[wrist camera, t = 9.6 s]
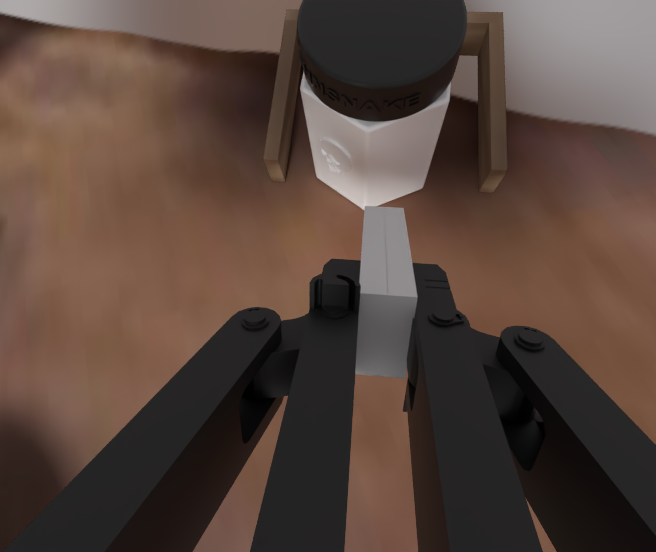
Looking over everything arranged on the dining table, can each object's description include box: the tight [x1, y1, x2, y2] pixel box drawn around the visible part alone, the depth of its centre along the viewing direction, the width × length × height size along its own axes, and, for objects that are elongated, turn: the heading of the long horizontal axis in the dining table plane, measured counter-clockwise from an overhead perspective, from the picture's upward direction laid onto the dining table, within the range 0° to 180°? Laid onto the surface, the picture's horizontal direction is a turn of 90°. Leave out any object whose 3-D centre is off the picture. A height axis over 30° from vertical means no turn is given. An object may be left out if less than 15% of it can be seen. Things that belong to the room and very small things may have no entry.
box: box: [263, 10, 508, 193], centre depth 31 cm, size 16×13×3 cm
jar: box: [297, 0, 467, 210], centre depth 26 cm, size 9×8×12 cm
